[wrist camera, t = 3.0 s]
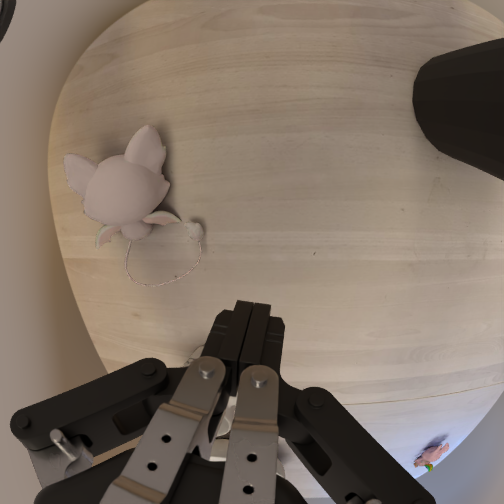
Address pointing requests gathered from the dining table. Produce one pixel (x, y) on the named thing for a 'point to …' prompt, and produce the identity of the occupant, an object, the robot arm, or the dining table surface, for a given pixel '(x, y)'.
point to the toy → (126, 191)
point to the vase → (465, 105)
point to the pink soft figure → (431, 456)
